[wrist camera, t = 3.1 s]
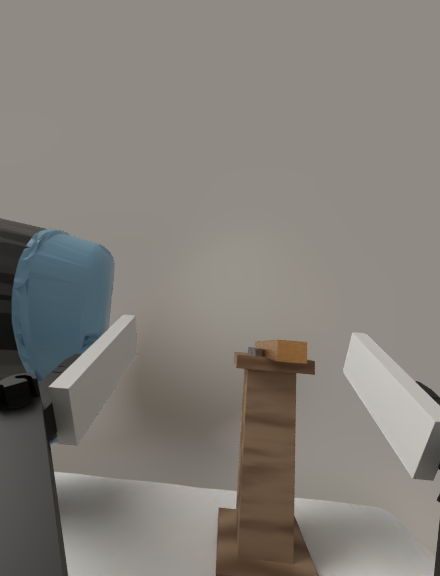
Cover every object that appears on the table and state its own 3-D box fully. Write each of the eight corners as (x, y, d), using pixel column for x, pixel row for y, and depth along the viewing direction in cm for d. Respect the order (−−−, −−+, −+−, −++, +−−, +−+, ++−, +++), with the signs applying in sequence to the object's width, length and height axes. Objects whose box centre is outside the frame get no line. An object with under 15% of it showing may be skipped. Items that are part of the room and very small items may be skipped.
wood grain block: (306, 363, 30) (307, 342, 31) (277, 361, 30) (277, 339, 31) (271, 354, 54) (271, 342, 54) (254, 353, 54) (255, 341, 54)
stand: (322, 599, 33) (321, 353, 40) (215, 587, 34) (231, 346, 40) (294, 525, 47) (296, 351, 54) (218, 517, 48) (230, 345, 54)
